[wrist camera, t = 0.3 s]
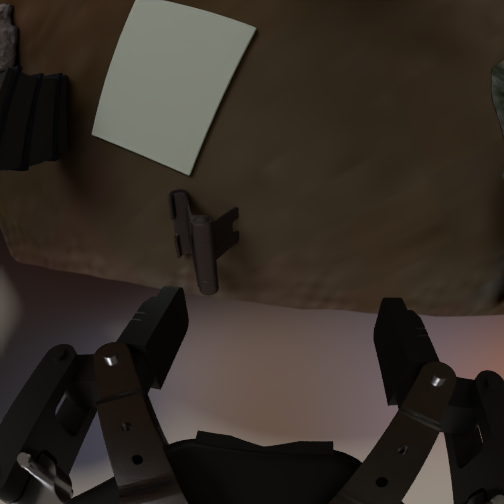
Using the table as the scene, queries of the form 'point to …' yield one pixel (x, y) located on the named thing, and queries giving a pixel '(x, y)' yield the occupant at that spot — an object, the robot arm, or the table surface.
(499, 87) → the rose bouquet
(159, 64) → the sage mat
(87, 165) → the table surface
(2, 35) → the geode
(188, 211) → the portable electronic device stand
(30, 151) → the black red yellow block
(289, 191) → the table surface
